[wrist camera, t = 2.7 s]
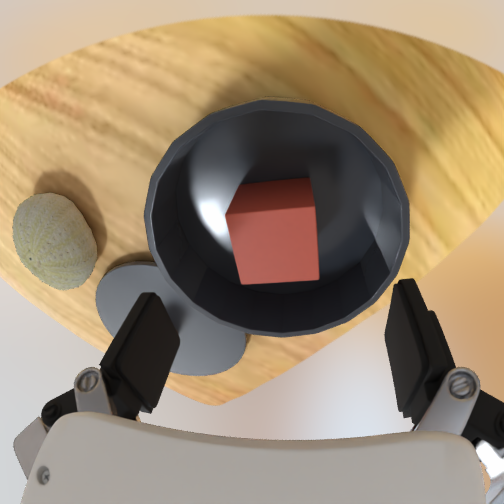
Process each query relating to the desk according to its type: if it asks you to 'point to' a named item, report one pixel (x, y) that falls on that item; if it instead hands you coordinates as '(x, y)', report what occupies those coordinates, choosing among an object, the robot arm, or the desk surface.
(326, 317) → the pot
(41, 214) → the sea urchin shell
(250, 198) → the block
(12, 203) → the desk surface
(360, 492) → the robot arm
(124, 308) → the pot lid
